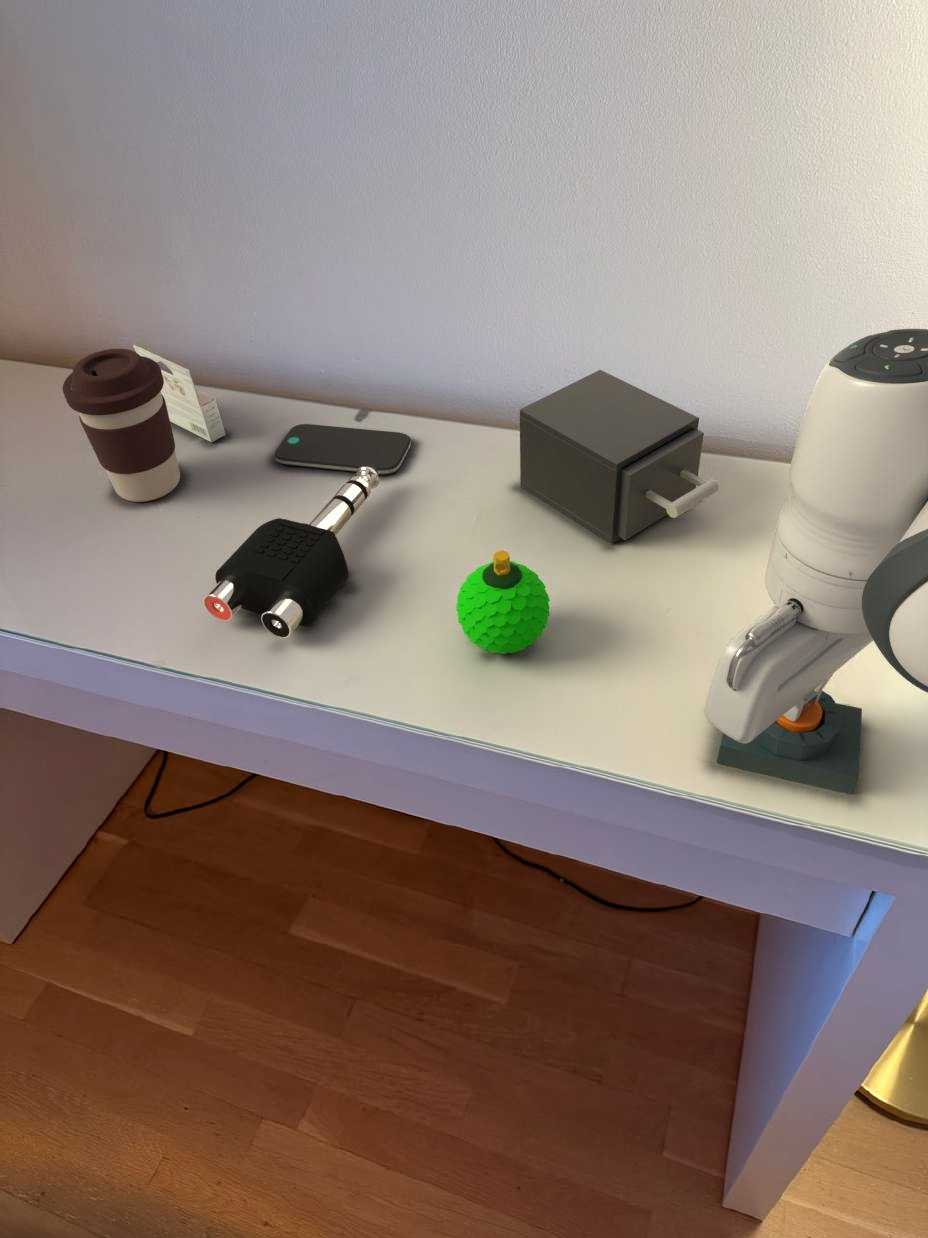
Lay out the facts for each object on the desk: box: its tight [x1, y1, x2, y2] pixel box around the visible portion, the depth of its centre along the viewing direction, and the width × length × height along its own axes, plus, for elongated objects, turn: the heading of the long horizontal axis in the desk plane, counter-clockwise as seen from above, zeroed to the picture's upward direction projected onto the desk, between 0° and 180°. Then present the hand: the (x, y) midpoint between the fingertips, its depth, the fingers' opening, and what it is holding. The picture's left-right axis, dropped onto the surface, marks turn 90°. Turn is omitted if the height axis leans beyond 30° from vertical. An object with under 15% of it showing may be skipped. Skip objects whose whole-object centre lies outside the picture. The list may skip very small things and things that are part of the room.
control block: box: [716, 690, 863, 795], centre depth 72 cm, size 10×7×4 cm
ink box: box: [132, 344, 226, 443], centre depth 110 cm, size 2×11×10 cm, turn 50°
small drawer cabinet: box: [519, 369, 700, 545], centre depth 96 cm, size 14×12×10 cm
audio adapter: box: [203, 466, 380, 639], centre depth 92 cm, size 11×5×25 cm
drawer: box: [616, 428, 720, 541], centre depth 94 cm, size 17×10×8 cm, turn 40°
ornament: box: [455, 549, 551, 655], centre depth 80 cm, size 8×8×10 cm
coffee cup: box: [61, 348, 181, 503], centre depth 100 cm, size 10×10×15 cm
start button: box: [775, 702, 822, 734], centre depth 71 cm, size 4×4×2 cm
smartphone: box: [274, 423, 412, 475], centre depth 107 cm, size 8×1×15 cm
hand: (796, 707), depth 71 cm, fingers closed, pressing on start button
